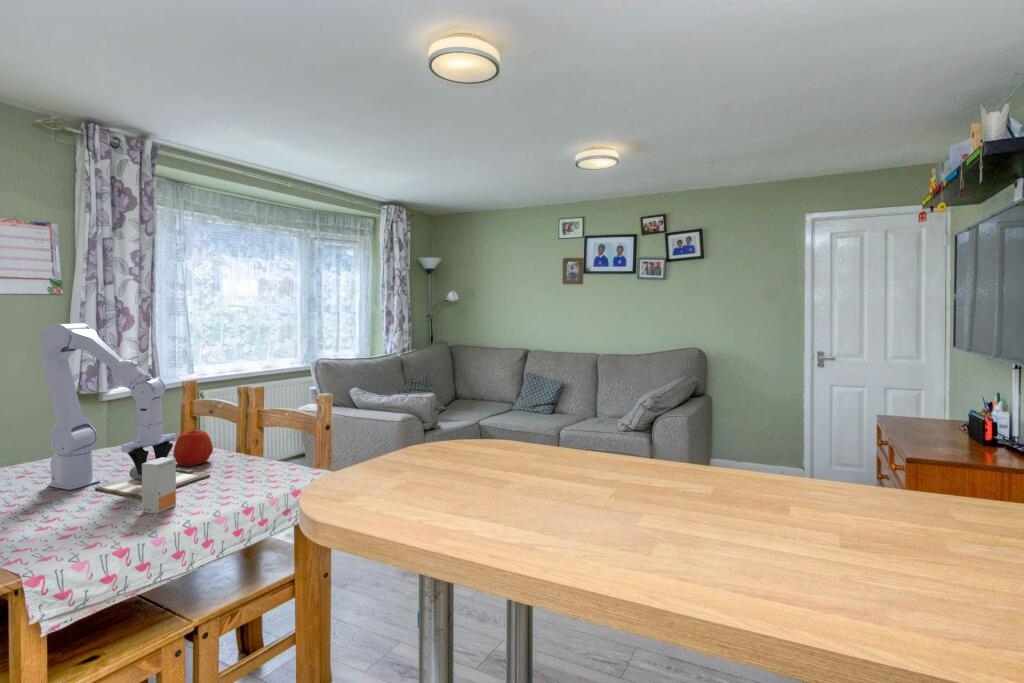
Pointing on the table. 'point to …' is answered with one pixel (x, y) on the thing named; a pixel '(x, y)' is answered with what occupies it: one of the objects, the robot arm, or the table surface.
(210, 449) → the apple
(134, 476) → the marker
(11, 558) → the table surface
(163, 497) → the skincare box
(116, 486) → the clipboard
